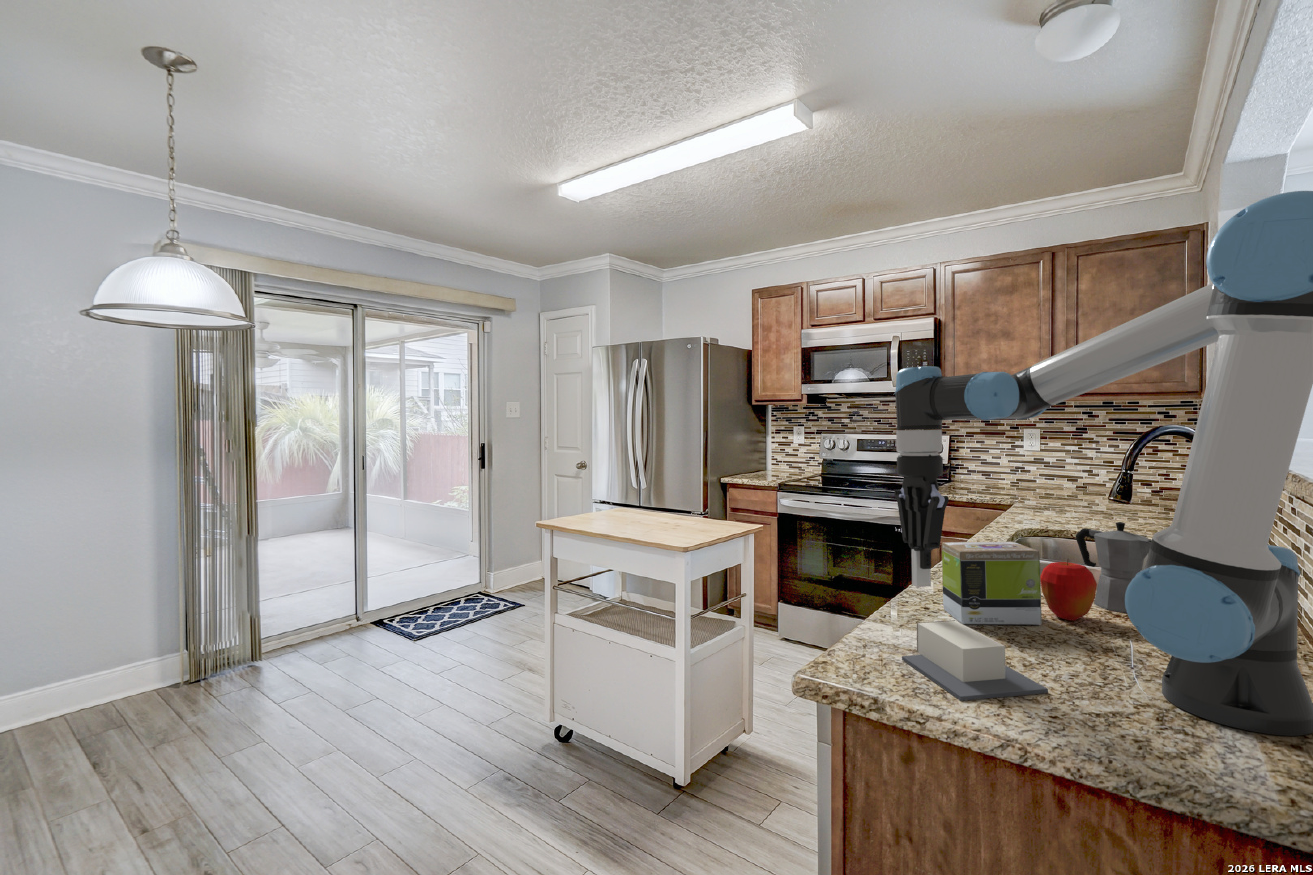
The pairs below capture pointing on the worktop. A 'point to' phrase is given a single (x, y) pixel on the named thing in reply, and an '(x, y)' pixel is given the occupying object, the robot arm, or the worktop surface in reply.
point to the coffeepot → (1114, 562)
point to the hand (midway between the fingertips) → (921, 585)
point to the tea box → (991, 583)
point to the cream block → (961, 650)
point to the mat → (976, 682)
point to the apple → (1068, 589)
